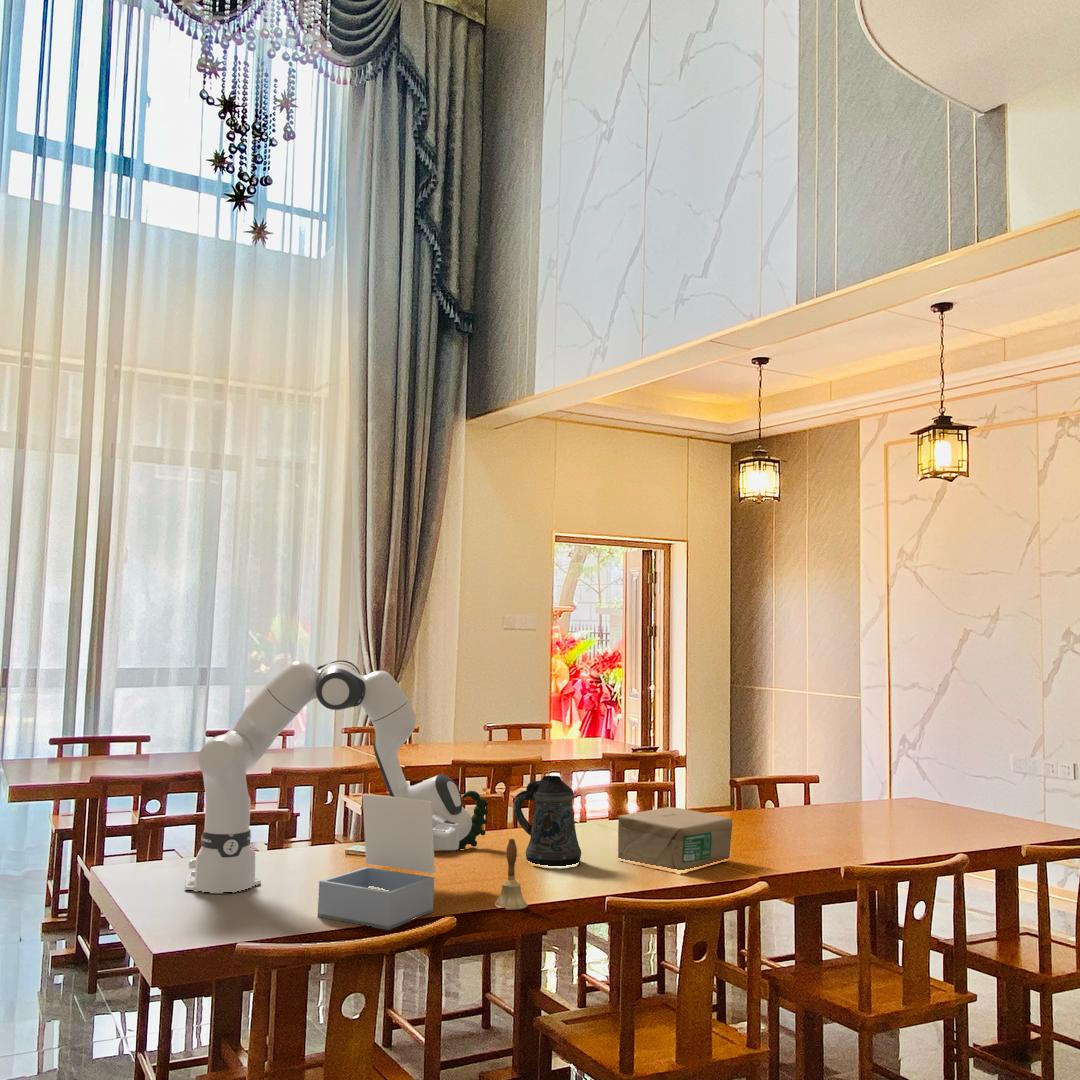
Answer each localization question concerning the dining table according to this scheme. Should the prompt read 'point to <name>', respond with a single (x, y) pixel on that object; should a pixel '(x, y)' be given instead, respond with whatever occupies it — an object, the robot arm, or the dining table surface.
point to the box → (376, 897)
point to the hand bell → (511, 883)
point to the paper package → (674, 838)
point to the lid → (398, 832)
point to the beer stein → (549, 823)
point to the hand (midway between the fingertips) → (399, 842)
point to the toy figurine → (475, 820)
